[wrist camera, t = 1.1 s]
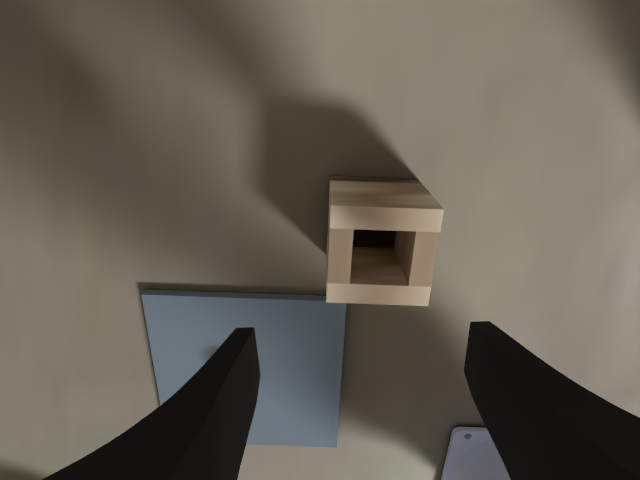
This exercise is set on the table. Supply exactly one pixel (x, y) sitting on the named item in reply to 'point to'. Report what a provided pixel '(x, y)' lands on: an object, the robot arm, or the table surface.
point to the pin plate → (273, 353)
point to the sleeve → (381, 256)
